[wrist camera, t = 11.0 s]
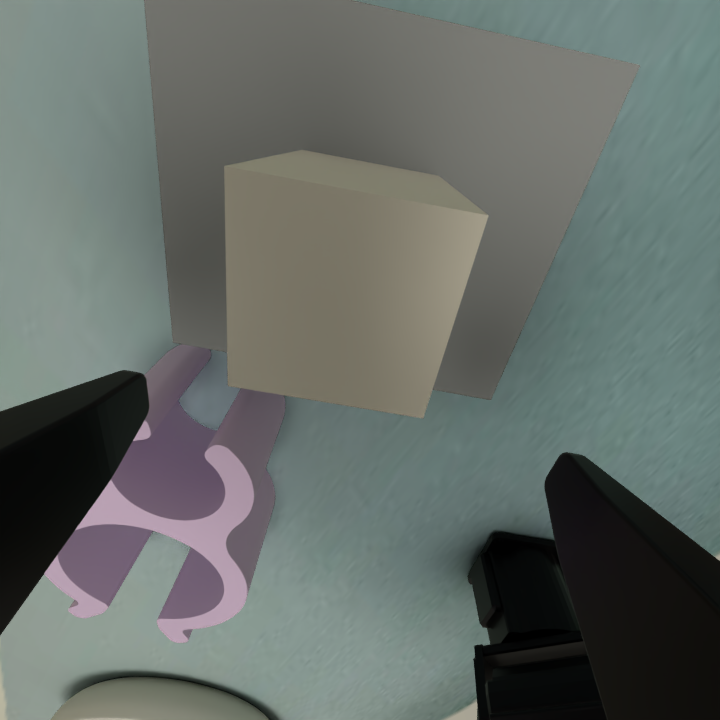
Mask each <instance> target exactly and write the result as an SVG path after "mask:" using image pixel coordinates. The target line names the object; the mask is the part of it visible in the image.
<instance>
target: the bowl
mask: <svg viewBox="0 0 720 720" xmlns="http://www.w3.org/2000/svg"><path fill="white" fill-rule="evenodd" d="M51 720H269V719H268V718H267V717H266V716H265V715H264V714H263V713H262V712H261V711H260V710H258V709H257V708H256V707H254V706H253V705H251V704H250V703H248V702H246V701H244V700H242V699H240V698H238V697H236V696H234V695H231V694H229V693H226V692H224V691H221V690H218V689H215V688H211V687H208V686H204V685H201V684H196V683H192V682H187V681H181V680H175V679H168V678H157V677H127V678H118V679H112V680H107V681H104V682H100V683H97V684H94V685H92V686H89V687H87V688H85V689H83V690H82V691H80V692H78V693H77V694H75V695H74V696H73V697H71V698H70V699H69V700H67V701H66V702H65V703H64V704H63V705H62V706H61V707H60V708H59V709H58V711H57V712H56V713H55V714H54V716H53V717H52V719H51Z"/></svg>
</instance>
